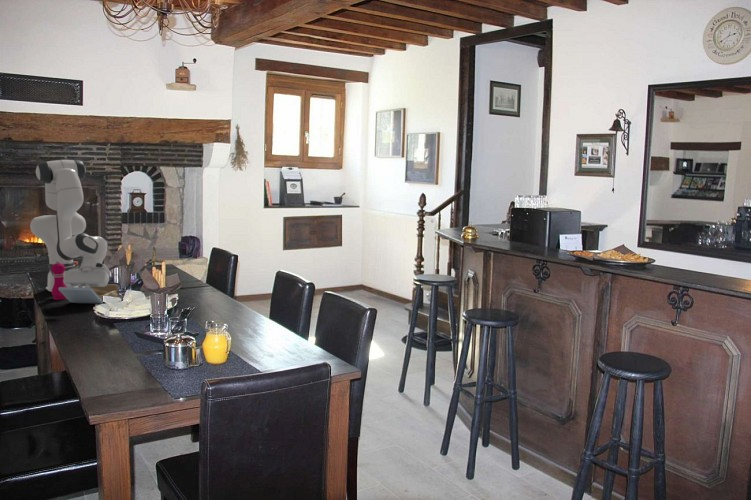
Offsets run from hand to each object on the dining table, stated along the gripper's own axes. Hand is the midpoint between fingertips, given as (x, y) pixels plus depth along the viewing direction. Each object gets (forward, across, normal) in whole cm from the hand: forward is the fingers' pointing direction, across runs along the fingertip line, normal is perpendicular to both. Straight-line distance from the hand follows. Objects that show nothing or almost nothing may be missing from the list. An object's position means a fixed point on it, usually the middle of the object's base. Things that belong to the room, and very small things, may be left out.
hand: (81, 293), depth 301 cm
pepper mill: (-3, -18, +14) cm, 23 cm away
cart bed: (-4, 0, +14) cm, 15 cm away
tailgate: (0, 0, +8) cm, 8 cm away
